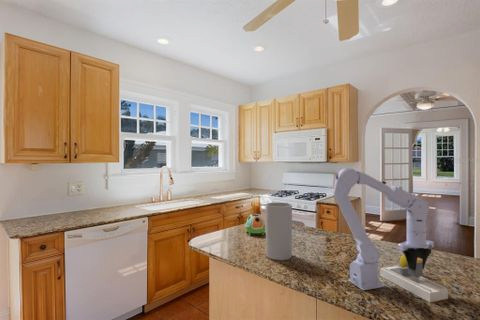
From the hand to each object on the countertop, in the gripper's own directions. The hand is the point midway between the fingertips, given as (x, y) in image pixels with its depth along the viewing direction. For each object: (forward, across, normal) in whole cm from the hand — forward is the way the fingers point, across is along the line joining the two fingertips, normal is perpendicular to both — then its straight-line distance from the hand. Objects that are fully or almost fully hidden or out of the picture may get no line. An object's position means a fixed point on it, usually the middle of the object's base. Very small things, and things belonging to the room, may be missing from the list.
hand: (416, 268), depth 92 cm
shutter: (+4, 0, +6) cm, 7 cm away
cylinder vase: (+8, -34, +43) cm, 55 cm away
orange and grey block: (+2, 0, 0) cm, 2 cm away
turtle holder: (+8, -32, +84) cm, 90 cm away
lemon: (+8, +9, +11) cm, 16 cm away
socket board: (+7, 0, +2) cm, 8 cm away
